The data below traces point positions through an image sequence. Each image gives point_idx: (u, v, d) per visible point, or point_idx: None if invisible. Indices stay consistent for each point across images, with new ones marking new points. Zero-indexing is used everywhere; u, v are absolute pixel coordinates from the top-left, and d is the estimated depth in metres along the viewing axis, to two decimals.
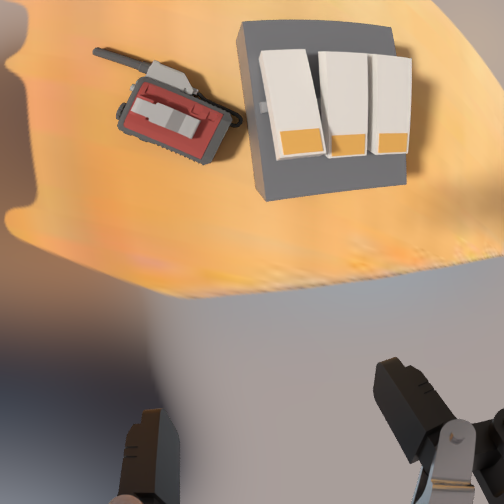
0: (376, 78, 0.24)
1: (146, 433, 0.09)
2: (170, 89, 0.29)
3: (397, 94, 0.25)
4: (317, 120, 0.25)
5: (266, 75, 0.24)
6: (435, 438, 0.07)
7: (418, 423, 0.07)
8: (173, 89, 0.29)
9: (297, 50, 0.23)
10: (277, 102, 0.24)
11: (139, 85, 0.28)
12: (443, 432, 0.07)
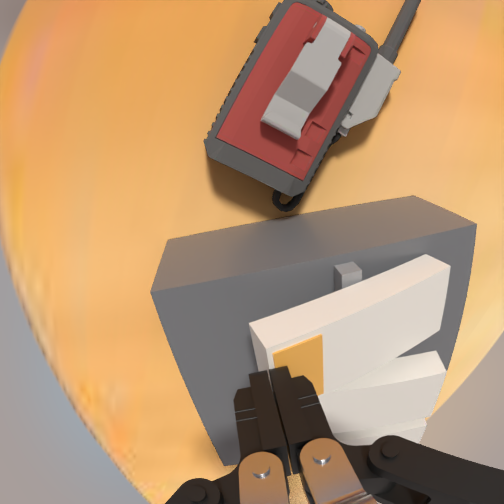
0: (391, 431, 0.16)
1: (259, 393, 0.10)
2: (353, 90, 0.16)
3: None
4: (336, 385, 0.13)
5: (417, 282, 0.13)
6: None
7: (285, 435, 0.08)
8: (353, 94, 0.16)
9: (440, 320, 0.15)
10: (374, 314, 0.12)
11: (366, 40, 0.14)
12: (304, 459, 0.07)
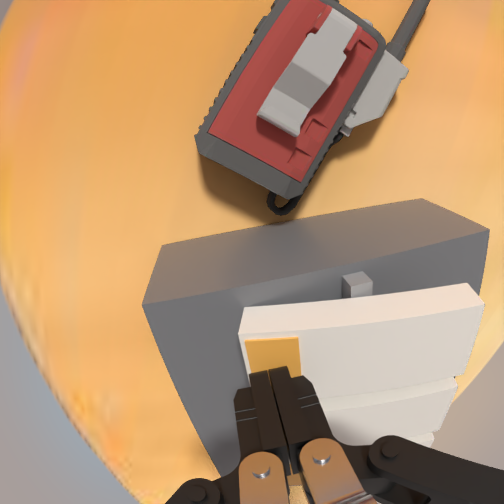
0: None
1: (260, 393, 0.10)
2: (358, 87, 0.15)
3: None
4: (319, 394, 0.12)
5: (432, 313, 0.10)
6: None
7: (285, 435, 0.08)
8: (358, 91, 0.15)
9: (465, 363, 0.11)
10: (367, 334, 0.11)
11: (373, 34, 0.13)
12: (304, 460, 0.07)
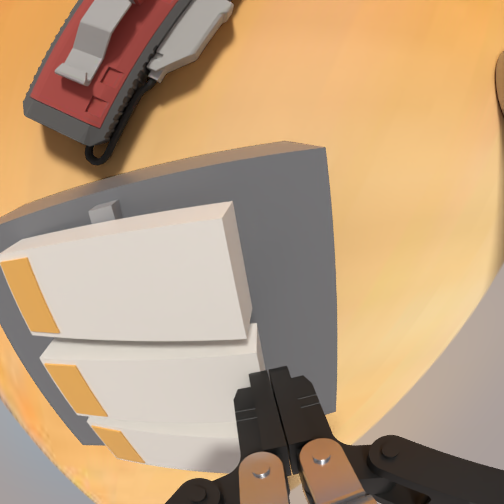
0: (218, 435, 0.13)
1: (260, 393, 0.10)
2: (161, 29, 0.13)
3: (202, 458, 0.14)
4: (71, 332, 0.11)
5: (139, 231, 0.09)
6: None
7: (285, 435, 0.08)
8: (161, 33, 0.13)
9: (237, 320, 0.10)
10: (76, 256, 0.09)
11: None
12: (304, 460, 0.07)
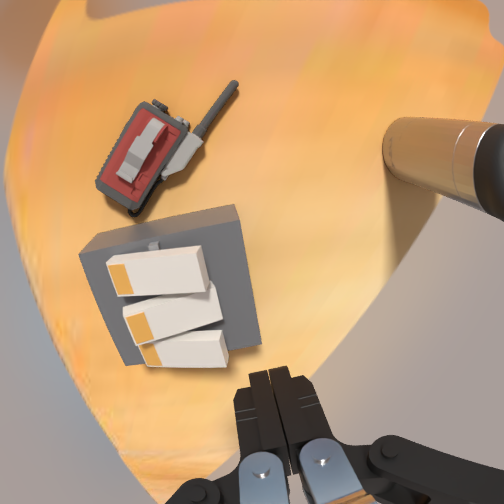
0: (197, 340, 0.33)
1: (260, 393, 0.10)
2: (167, 156, 0.33)
3: (190, 356, 0.34)
4: (139, 293, 0.31)
5: (170, 256, 0.29)
6: None
7: (285, 435, 0.08)
8: (167, 158, 0.33)
9: (202, 284, 0.29)
10: (146, 263, 0.29)
11: (178, 126, 0.32)
12: (304, 460, 0.07)
